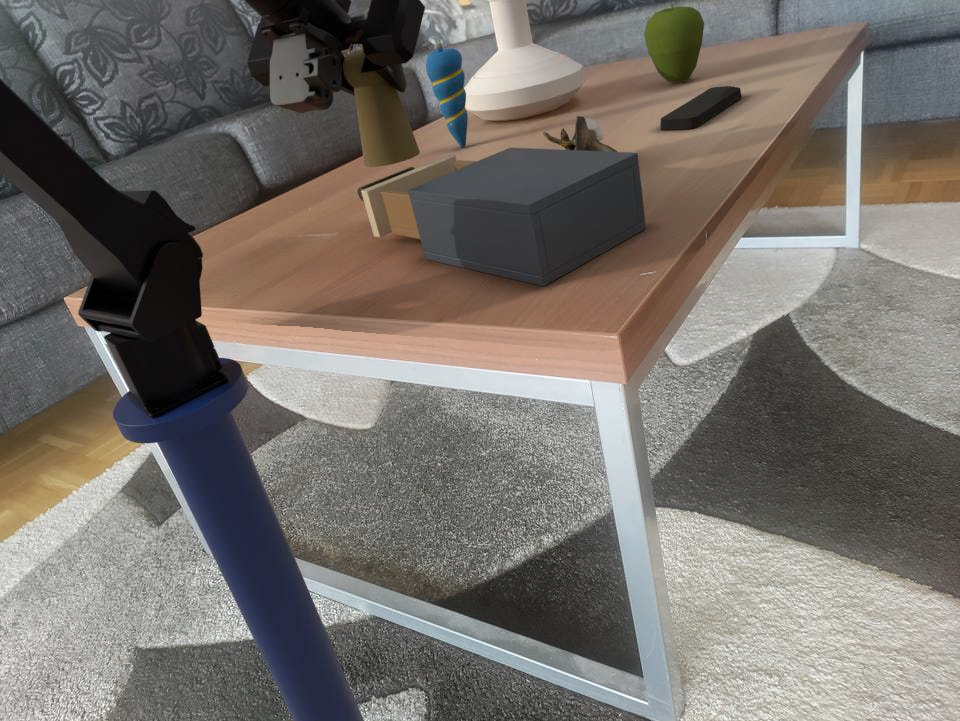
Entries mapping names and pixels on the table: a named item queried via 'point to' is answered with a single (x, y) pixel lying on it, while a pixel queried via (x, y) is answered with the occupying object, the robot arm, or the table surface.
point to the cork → (379, 116)
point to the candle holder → (520, 71)
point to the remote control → (700, 108)
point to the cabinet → (530, 211)
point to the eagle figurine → (582, 137)
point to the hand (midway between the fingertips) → (383, 91)
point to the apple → (675, 41)
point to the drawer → (401, 196)
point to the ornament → (449, 89)
